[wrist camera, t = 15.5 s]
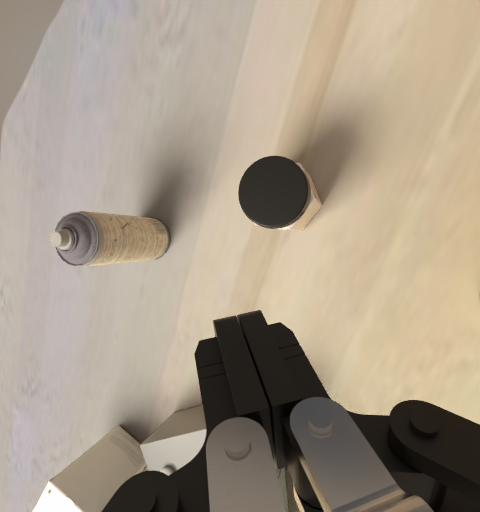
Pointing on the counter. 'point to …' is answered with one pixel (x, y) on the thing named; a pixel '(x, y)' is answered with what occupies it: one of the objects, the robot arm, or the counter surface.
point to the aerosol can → (108, 238)
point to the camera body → (175, 441)
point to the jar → (278, 194)
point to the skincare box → (94, 475)
